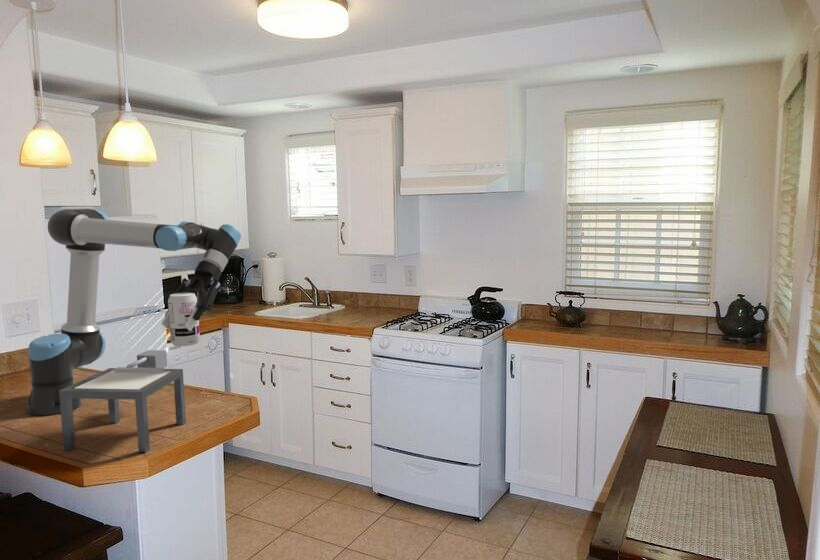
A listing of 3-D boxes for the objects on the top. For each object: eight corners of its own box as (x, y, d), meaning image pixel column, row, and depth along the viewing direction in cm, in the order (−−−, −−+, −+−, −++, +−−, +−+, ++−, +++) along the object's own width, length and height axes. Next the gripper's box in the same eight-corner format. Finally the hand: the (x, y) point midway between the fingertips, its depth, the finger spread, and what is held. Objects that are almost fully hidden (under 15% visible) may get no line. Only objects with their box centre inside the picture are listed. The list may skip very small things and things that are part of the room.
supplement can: (183, 339, 190) (180, 291, 188) (205, 341, 187) (202, 292, 185) (165, 345, 182) (161, 296, 180) (187, 347, 180) (184, 297, 177)
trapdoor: (74, 399, 164) (73, 380, 164) (143, 365, 199) (142, 350, 198) (138, 400, 162) (137, 381, 162) (196, 366, 197) (195, 350, 196)
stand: (63, 450, 164) (58, 390, 162) (113, 420, 186) (109, 368, 184) (145, 452, 161) (141, 392, 159) (185, 422, 184) (182, 369, 182)
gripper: (243, 275, 192) (210, 337, 179) (192, 272, 200) (157, 331, 188) (231, 260, 186) (196, 323, 174) (178, 258, 195) (141, 317, 182)
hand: (176, 327), depth 181 cm, fingers closed on supplement can, 8 cm apart
